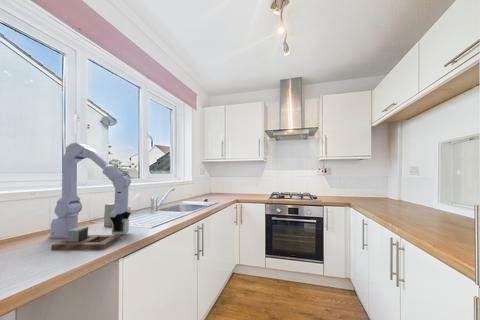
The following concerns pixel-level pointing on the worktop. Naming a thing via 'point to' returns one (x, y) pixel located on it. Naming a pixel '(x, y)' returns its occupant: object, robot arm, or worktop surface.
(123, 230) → the block
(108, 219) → the skincare box
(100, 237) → the brown wooden frame
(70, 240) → the grey block
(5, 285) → the worktop surface
